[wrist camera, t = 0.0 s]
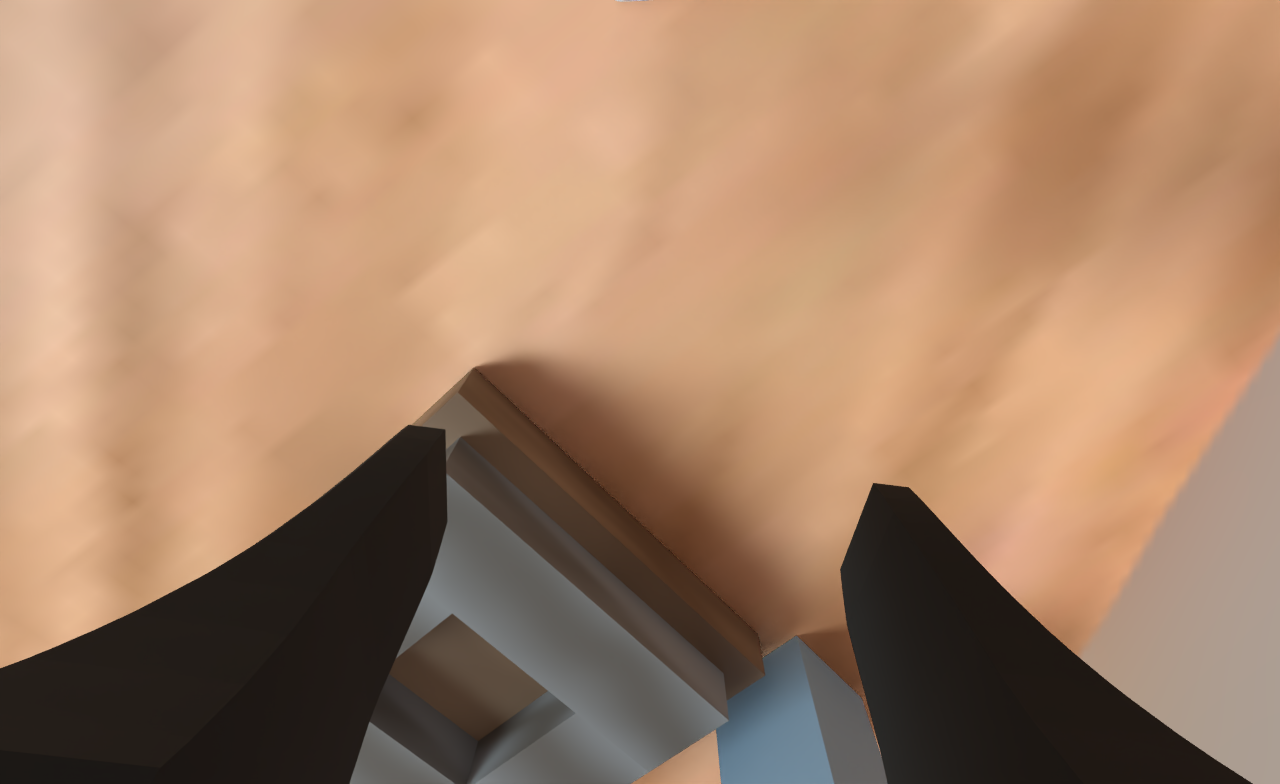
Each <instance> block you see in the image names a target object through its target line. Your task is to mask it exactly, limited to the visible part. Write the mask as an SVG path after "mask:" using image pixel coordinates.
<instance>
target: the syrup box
mask: <svg viewBox="0 0 1280 784" xmlns="http://www.w3.org/2000/svg"><path fill="white" fill-rule="evenodd" d="M616 1H619V2H626V1H647V0H616Z"/></svg>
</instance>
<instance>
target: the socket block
mask: <svg viewBox="0 0 1280 784" xmlns="http://www.w3.org/2000/svg"><path fill="white" fill-rule="evenodd" d="M413 425H415V426H423V427H431V428H439V429H445V430H446V474H447V519H448V522H447V525H446V529H445V532H444V536H443V539H442V543H441V546H440V550H439V553H438V557H437V560H436V563H435V567H434V570H433V573H432V576H431V578H430V581H429V583H428V586H427V588H426V590H425V593H424V595H423V597H422V600H421V602H420V604H419V606H418V609H417V611H416V613H415V616H414V618H413V620H412V623H411V625H410V627H409V629H408V632H407V634H406V636H405V639H404V641H403V643H402V645H401V648H400V650H399V652H398V655H397V657H396V659H395V661H394V664H393V666H392V668H391V671H390V673H389V675H388V677H387V680H386V682H385V684H384V686H383V689H382V691H381V693H380V696H379V698H378V701H377V704H376V706H375V709H374V711H373V714H372V717H371V719H370V722H369V725H368V728H367V731H366V734H365V737H364V740H363V743H362V746H361V749H360V753H359V756H358V759H357V762H356V765H355V768H354V771H353V774H352V777H351V780H350V784H631V783H633V782H634V781H636V780H637V779H639V778H640V777H642V776H644V775H645V774H647V773H648V772H650V771H651V770H653V769H654V768H656V767H658V766H659V765H661V764H662V763H664V762H665V761H667V760H668V759H670V758H672V757H673V756H675V755H676V754H678V753H679V752H681V751H683V750H684V749H686V748H687V747H689V746H690V745H692V744H693V743H695V742H697V741H698V740H700V739H701V738H703V737H704V736H706V735H707V734H709V733H711V732H712V731H714V730H715V729H717V728H718V727H720V726H721V725H723V724H725V723H726V722H728V721H729V716H728V707H727V700H729V699H730V698H732V697H733V696H735V695H736V694H738V693H739V692H741V691H742V690H744V689H745V688H747V687H749V686H750V685H752V684H753V683H755V682H756V681H758V680H759V679H761V678H762V677H764V676H765V671H764V665H763V660H762V654H761V649H760V643H759V638H758V634H757V633H756V632H755V631H754V630H752V629H751V628H750V627H749V626H748V625H747V624H746V623H745V622H744V621H743V620H742V619H741V618H740V617H739V616H738V615H737V614H735V613H734V612H733V611H732V610H731V609H730V608H729V607H728V606H727V605H726V604H725V603H724V602H723V601H722V600H721V599H720V598H718V597H717V596H716V595H715V594H714V593H713V592H712V591H711V590H710V589H709V588H708V587H707V586H706V585H705V584H704V583H702V582H701V581H700V580H699V579H698V578H697V577H696V576H695V575H694V574H693V573H692V572H691V571H690V570H689V569H688V568H687V567H685V566H684V565H683V564H682V563H681V562H680V561H679V560H678V559H677V558H676V557H675V556H674V555H673V554H672V553H671V552H670V551H668V550H667V549H666V548H665V547H664V546H663V545H662V544H661V543H660V542H659V541H658V540H657V539H656V538H655V537H654V536H652V535H651V534H650V533H649V532H648V531H647V530H646V529H645V528H644V527H643V526H642V525H641V524H640V523H639V522H638V521H637V520H635V519H634V518H633V517H632V516H631V515H630V514H629V513H628V512H627V511H626V510H625V509H624V508H623V507H622V506H621V505H620V504H618V503H617V502H616V501H615V500H614V499H613V498H612V497H611V496H610V495H609V494H608V493H607V492H606V491H605V490H604V489H602V488H601V487H600V486H599V485H598V484H597V483H596V482H595V481H594V480H593V479H592V478H591V477H590V476H589V475H588V474H587V473H585V472H584V471H583V470H582V469H581V468H580V467H579V466H578V465H577V464H576V463H575V462H574V461H573V460H572V459H571V458H570V457H568V456H567V455H566V454H565V453H564V452H563V451H562V450H561V449H560V448H559V447H558V446H557V445H556V444H555V443H554V442H553V441H551V440H550V439H549V438H548V437H547V436H546V435H545V434H544V433H543V432H542V431H541V430H540V429H539V428H538V427H537V426H535V425H534V424H533V423H532V422H531V421H530V420H529V419H528V418H527V417H526V416H525V415H524V414H523V413H522V412H521V411H520V410H518V409H517V408H516V407H515V406H514V405H513V404H512V403H511V402H510V401H509V400H508V399H507V398H506V397H505V396H504V395H503V394H501V393H500V392H499V391H498V390H497V389H496V388H495V387H494V386H493V385H492V384H491V383H490V382H489V381H488V380H487V379H485V378H484V377H483V376H482V375H481V374H480V373H479V372H478V371H477V370H476V369H475V368H473V369H472V370H471V371H470V372H468V373H467V374H466V375H465V376H464V377H463V378H462V379H461V380H460V381H459V382H458V383H457V384H456V385H454V386H453V387H452V388H451V389H450V390H449V391H448V392H447V393H446V394H445V395H444V396H443V397H442V398H441V399H439V400H438V401H437V402H436V403H435V404H434V405H433V406H432V407H431V408H430V409H429V410H428V411H427V412H425V413H424V414H423V415H422V416H421V417H420V418H419V419H418V420H417V421H416V422H415V423H414V424H413Z"/></svg>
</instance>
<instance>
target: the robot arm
mask: <svg viewBox="0 0 1280 784" xmlns="http://www.w3.org/2000/svg"><path fill="white" fill-rule="evenodd" d="M447 522H448V519H447V474H446V430H445V429H439V428H431V427H423V426H415V425H408V426H406V427H405V428H404V429H402V430H401V431H400V432H399V433H397V434H396V435H395V436H394V437H393V438H392V439H390V440H389V441H388V442H387V443H386V444H385V445H383V446H382V447H381V448H380V449H379V450H378V451H376V452H375V453H374V454H373V455H372V456H371V457H369V458H368V459H367V460H366V461H365V462H363V463H362V464H361V465H360V466H359V467H358V468H356V469H355V470H354V471H353V472H352V473H350V474H349V475H348V476H347V477H345V478H344V479H343V480H342V481H340V482H339V483H338V484H337V485H335V486H334V487H333V488H332V489H330V490H329V491H328V492H327V493H325V494H324V495H323V496H322V497H320V498H319V499H318V500H316V501H315V502H314V503H312V504H311V505H310V506H308V507H307V508H306V509H304V510H303V511H302V512H300V513H299V514H297V515H296V516H295V517H293V518H292V519H290V520H289V521H288V522H286V523H285V524H284V525H282V526H281V527H279V528H278V529H277V530H275V531H274V532H272V533H271V534H270V535H268V536H267V537H265V538H264V539H262V540H261V541H259V542H258V543H256V544H255V545H253V546H252V547H250V548H248V549H247V550H245V551H244V552H242V553H240V554H239V555H237V556H236V557H234V558H232V559H231V560H229V561H227V562H226V563H224V564H222V565H221V566H219V567H217V568H216V569H214V570H212V571H210V572H209V573H207V574H205V575H203V576H202V577H200V578H198V579H196V580H194V581H192V582H190V583H188V584H186V585H184V586H183V587H181V588H179V589H177V590H175V591H173V592H171V593H169V594H167V595H165V596H163V597H161V598H160V599H158V600H156V601H154V602H152V603H150V604H148V605H146V606H144V607H142V608H140V609H138V610H136V611H134V612H132V613H130V614H128V615H126V616H124V617H122V618H120V619H117V620H115V621H113V622H111V623H109V624H107V625H104V626H102V627H100V628H98V629H96V630H94V631H91V632H89V633H87V634H84V635H82V636H80V637H77V638H75V639H73V640H70V641H68V642H66V643H63V644H61V645H59V646H56V647H54V648H52V649H49V650H47V651H44V652H42V653H39V654H37V655H35V656H32V657H30V658H27V659H24V660H22V661H19V662H16V663H14V664H11V665H8V666H6V667H3V668H0V784H350V780H351V777H352V774H353V771H354V768H355V765H356V762H357V759H358V756H359V753H360V749H361V746H362V743H363V740H364V737H365V734H366V731H367V728H368V725H369V722H370V719H371V717H372V714H373V711H374V709H375V706H376V704H377V701H378V698H379V696H380V693H381V691H382V689H383V686H384V684H385V682H386V680H387V677H388V675H389V673H390V671H391V668H392V666H393V664H394V661H395V659H396V657H397V655H398V652H399V650H400V648H401V645H402V643H403V641H404V639H405V636H406V634H407V632H408V629H409V627H410V625H411V623H412V620H413V618H414V616H415V613H416V611H417V609H418V606H419V604H420V602H421V600H422V597H423V595H424V593H425V590H426V588H427V586H428V583H429V581H430V578H431V576H432V573H433V570H434V567H435V563H436V560H437V557H438V553H439V550H440V546H441V543H442V539H443V536H444V532H445V529H446V525H447ZM840 571H841V580H842V589H843V598H844V606H845V613H846V620H847V626H848V630H849V634H850V638H851V642H852V646H853V650H854V654H855V658H856V662H857V665H858V669H859V673H860V677H861V680H862V684H863V688H864V692H865V695H866V699H867V703H868V707H869V710H870V714H871V718H872V721H873V725H874V729H875V733H876V736H877V740H878V744H879V748H880V752H881V756H882V761H883V765H884V770H885V774H886V778H887V784H1252V783H1251V782H1249V781H1248V780H1246V779H1244V778H1243V777H1242V776H1240V775H1238V774H1237V773H1235V772H1234V771H1232V770H1231V769H1229V768H1228V767H1226V766H1224V765H1223V764H1221V763H1220V762H1218V761H1217V760H1215V759H1214V758H1212V757H1211V756H1209V755H1208V754H1206V753H1205V752H1203V751H1202V750H1200V749H1199V748H1198V747H1196V746H1195V745H1193V744H1192V743H1190V742H1189V741H1187V740H1186V739H1184V738H1183V737H1182V736H1180V735H1179V734H1177V733H1176V732H1174V731H1173V730H1172V729H1170V728H1169V727H1167V726H1166V725H1165V724H1164V723H1162V722H1161V721H1160V720H1158V719H1157V718H1155V717H1154V716H1153V715H1151V714H1150V713H1149V712H1147V711H1146V710H1145V709H1143V708H1142V707H1140V706H1139V705H1138V704H1136V703H1135V702H1134V701H1132V700H1131V699H1130V698H1128V697H1127V696H1126V695H1125V694H1123V693H1122V692H1121V691H1119V690H1118V689H1117V688H1116V687H1114V686H1113V685H1112V684H1110V683H1109V682H1108V681H1107V680H1105V679H1104V678H1103V677H1102V676H1101V675H1099V674H1098V673H1097V672H1096V671H1095V670H1093V669H1092V668H1091V667H1090V666H1089V665H1087V664H1086V663H1085V662H1084V661H1083V660H1081V659H1080V658H1079V657H1078V656H1077V655H1075V654H1074V653H1073V652H1072V651H1071V650H1069V649H1068V648H1067V647H1066V646H1065V645H1064V644H1063V643H1062V642H1060V641H1059V640H1058V639H1057V638H1056V637H1055V636H1054V635H1053V634H1051V633H1050V632H1049V631H1048V630H1047V629H1046V628H1045V627H1044V626H1043V625H1042V624H1041V623H1040V622H1039V621H1038V620H1036V619H1035V618H1034V617H1033V616H1032V615H1031V614H1030V613H1029V612H1028V611H1027V610H1026V609H1025V608H1024V607H1023V606H1022V605H1021V604H1020V603H1019V602H1017V601H1016V600H1015V599H1014V598H1013V597H1012V596H1011V595H1010V594H1009V593H1008V592H1007V591H1006V590H1005V589H1004V588H1003V587H1002V586H1001V585H1000V584H999V583H998V582H997V580H996V579H995V578H994V577H993V576H992V575H991V574H990V573H989V572H988V571H987V570H986V569H985V568H984V567H983V566H982V565H981V564H980V563H979V562H978V561H977V560H976V559H975V558H974V556H973V555H972V554H971V553H970V552H969V551H968V550H967V549H966V548H965V547H964V546H963V545H962V544H961V542H960V541H959V540H958V539H957V538H956V537H955V536H954V535H953V534H952V533H951V532H950V531H949V529H948V528H947V527H946V526H945V525H944V524H943V523H942V522H941V521H940V520H939V519H938V517H937V516H936V515H935V514H934V513H933V512H932V511H931V510H930V509H929V508H928V507H927V506H926V504H925V503H924V502H923V501H922V500H921V499H920V498H919V497H918V496H917V495H916V494H915V493H914V492H913V491H912V490H911V489H910V488H909V487H901V486H893V485H885V484H877V483H873V485H872V488H871V490H870V493H869V495H868V498H867V501H866V503H865V506H864V509H863V511H862V514H861V516H860V519H859V522H858V524H857V527H856V530H855V532H854V535H853V537H852V540H851V543H850V545H849V548H848V551H847V553H846V556H845V558H844V561H843V564H842V566H841V569H840Z"/></svg>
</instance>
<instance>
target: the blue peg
mask: <svg viewBox="0 0 1280 784" xmlns="http://www.w3.org/2000/svg"><path fill="white" fill-rule="evenodd" d="M762 660H763V665H764V671H765V676H764V677H762V678H761V679H759V680H758V681H756V682H755V683H753V684H752V685H750V686H749V687H747V688H745V689H744V690H742V691H741V692H739V693H738V694H736V695H735V696H733V697H732V698H730V699H729V700H727V707H728V716H729V721H728V722H726V723H725V724H723V725H721V726H720V727H718V728H717V729H716V732H717V743H718V754H719V765H720V776H721V784H887V778H886V774H885V770H884V765H883V761H882V757H881V754H880V751H879V748H878V745H877V742H876V739H875V736H874V733H873V730H872V727H871V724H870V721H869V718H868V715H867V712H866V709H865V706H864V703H863V700H862V698H861V697H860V696H859V695H858V694H857V693H856V692H855V691H854V690H853V689H852V688H851V687H850V686H849V685H847V684H846V683H845V682H844V681H843V680H842V679H841V678H840V677H839V676H838V675H837V674H836V673H835V672H834V671H833V670H832V669H831V668H830V667H829V666H828V665H827V664H826V663H825V662H824V661H823V660H821V659H820V658H819V657H818V656H817V655H816V654H815V653H814V652H813V651H812V650H811V649H810V648H809V647H808V646H807V645H806V644H805V643H804V642H803V641H802V640H801V639H800V638H799V637H798V636H795V637H794V638H792V639H791V640H789V641H788V642H786V643H785V644H783V645H782V646H780V647H779V648H777V649H775V650H774V651H772V652H771V653H769V654H768V655H766V656H765V657H763V658H762Z"/></svg>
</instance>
